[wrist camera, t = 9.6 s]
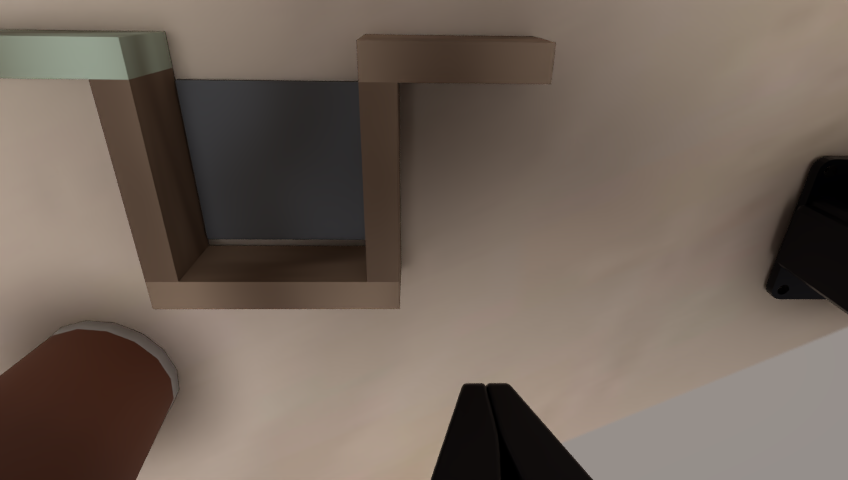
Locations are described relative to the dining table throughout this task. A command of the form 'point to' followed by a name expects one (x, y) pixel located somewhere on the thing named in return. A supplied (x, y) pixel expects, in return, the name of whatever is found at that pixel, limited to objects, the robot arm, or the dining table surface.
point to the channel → (264, 160)
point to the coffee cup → (84, 405)
